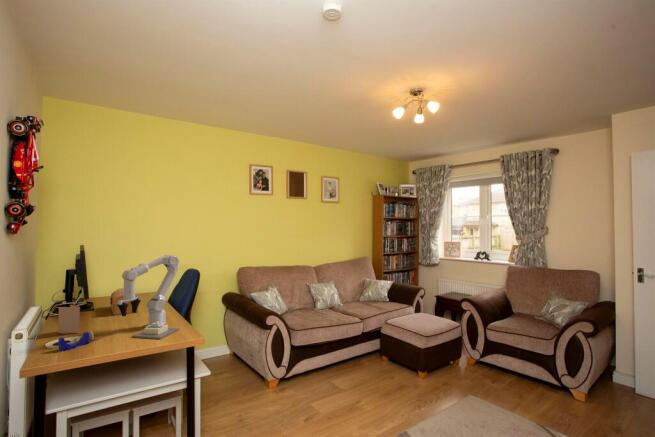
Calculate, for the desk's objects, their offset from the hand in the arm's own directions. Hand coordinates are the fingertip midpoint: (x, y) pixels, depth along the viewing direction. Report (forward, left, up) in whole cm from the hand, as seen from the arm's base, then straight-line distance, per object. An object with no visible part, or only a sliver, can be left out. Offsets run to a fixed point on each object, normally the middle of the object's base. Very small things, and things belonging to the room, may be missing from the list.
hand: (129, 314), depth 191 cm
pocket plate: (-1, +17, -10) cm, 20 cm away
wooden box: (-43, -45, -11) cm, 63 cm away
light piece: (+19, -19, -11) cm, 29 cm away
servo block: (-1, +17, -9) cm, 19 cm away
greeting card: (+7, -34, -11) cm, 36 cm away
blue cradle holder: (+25, -9, -11) cm, 29 cm away
